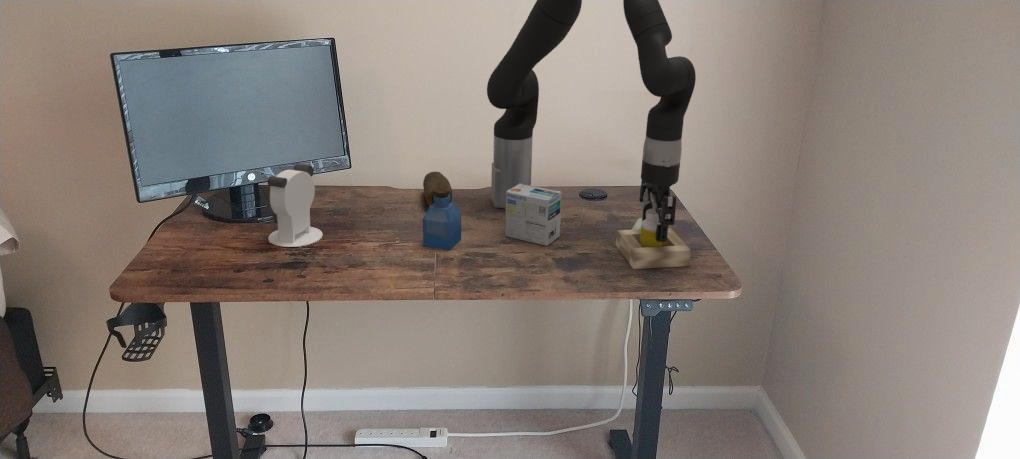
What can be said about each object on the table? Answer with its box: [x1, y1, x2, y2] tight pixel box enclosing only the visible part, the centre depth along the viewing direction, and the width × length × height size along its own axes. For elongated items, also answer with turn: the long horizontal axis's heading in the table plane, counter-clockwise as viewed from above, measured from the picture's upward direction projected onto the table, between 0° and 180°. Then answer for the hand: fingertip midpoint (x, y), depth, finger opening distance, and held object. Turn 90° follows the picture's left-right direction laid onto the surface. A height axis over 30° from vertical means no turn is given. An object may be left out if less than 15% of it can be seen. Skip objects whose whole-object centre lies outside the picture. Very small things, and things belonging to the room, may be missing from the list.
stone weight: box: [422, 171, 453, 207], centre depth 190 cm, size 15×7×7 cm, turn 14°
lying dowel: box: [631, 217, 642, 230], centre depth 175 cm, size 8×3×3 cm
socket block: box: [615, 227, 692, 270], centre depth 164 cm, size 12×12×4 cm
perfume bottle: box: [422, 188, 462, 251], centre depth 166 cm, size 6×6×12 cm
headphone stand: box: [267, 163, 323, 248], centre depth 166 cm, size 12×11×15 cm
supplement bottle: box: [639, 209, 666, 248], centre depth 162 cm, size 5×5×10 cm
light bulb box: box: [504, 184, 563, 247], centre depth 170 cm, size 11×7×11 cm, turn 62°
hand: (653, 233), depth 162 cm, fingers open, 8 cm apart
